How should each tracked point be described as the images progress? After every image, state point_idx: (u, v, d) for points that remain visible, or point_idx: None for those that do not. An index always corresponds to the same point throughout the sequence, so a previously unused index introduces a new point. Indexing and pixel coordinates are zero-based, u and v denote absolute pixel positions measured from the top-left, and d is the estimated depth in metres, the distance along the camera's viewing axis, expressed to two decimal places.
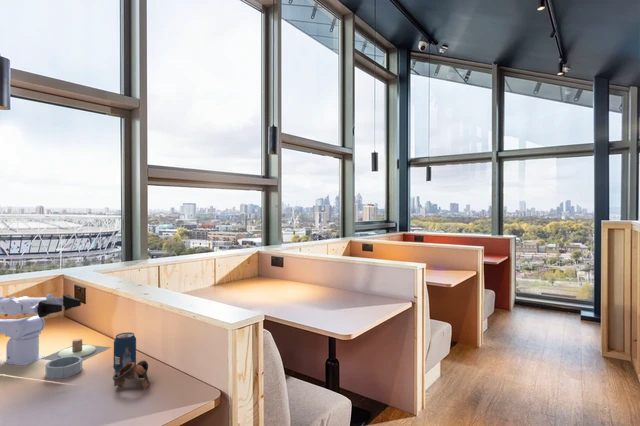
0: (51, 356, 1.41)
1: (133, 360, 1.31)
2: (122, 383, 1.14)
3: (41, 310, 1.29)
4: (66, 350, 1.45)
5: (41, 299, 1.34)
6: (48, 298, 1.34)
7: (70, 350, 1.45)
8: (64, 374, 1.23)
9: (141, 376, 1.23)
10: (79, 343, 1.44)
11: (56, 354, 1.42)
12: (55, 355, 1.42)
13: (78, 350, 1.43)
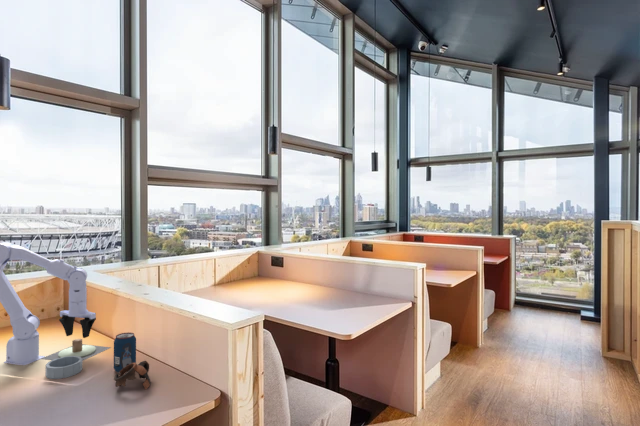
0: (51, 356, 1.41)
1: (133, 360, 1.31)
2: (123, 383, 1.14)
3: None
4: (66, 350, 1.44)
5: None
6: None
7: (70, 350, 1.45)
8: (64, 374, 1.23)
9: (142, 376, 1.23)
10: (79, 343, 1.44)
11: (56, 354, 1.42)
12: (55, 355, 1.42)
13: (78, 350, 1.43)
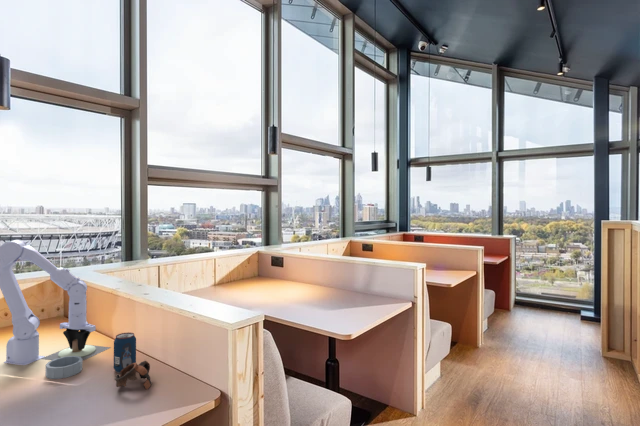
0: (51, 356, 1.41)
1: (133, 360, 1.31)
2: (124, 384, 1.14)
3: None
4: (66, 350, 1.44)
5: None
6: None
7: (70, 350, 1.45)
8: (64, 374, 1.23)
9: (143, 377, 1.23)
10: None
11: (56, 354, 1.42)
12: (55, 355, 1.42)
13: (78, 350, 1.43)
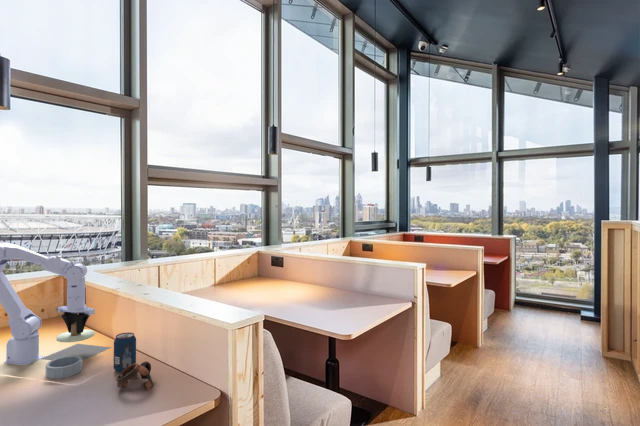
0: (51, 356, 1.41)
1: (133, 360, 1.31)
2: (126, 384, 1.14)
3: None
4: (64, 334, 1.42)
5: None
6: None
7: (68, 334, 1.42)
8: (64, 374, 1.23)
9: (144, 377, 1.23)
10: None
11: (56, 354, 1.42)
12: (55, 355, 1.42)
13: (77, 334, 1.41)
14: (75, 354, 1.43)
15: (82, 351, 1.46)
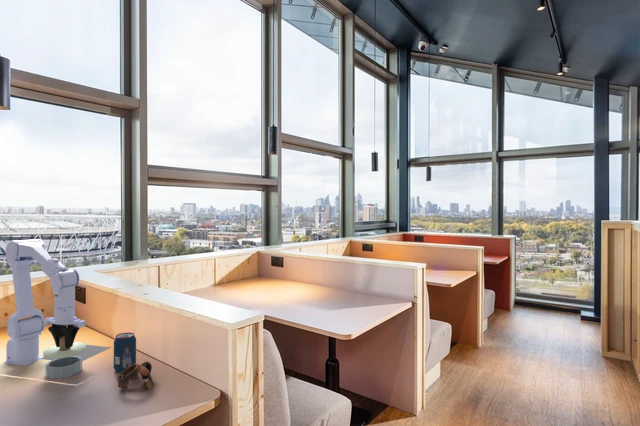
0: None
1: (133, 360, 1.31)
2: (126, 384, 1.14)
3: None
4: (52, 348, 1.28)
5: None
6: None
7: (57, 348, 1.28)
8: (64, 374, 1.23)
9: (145, 377, 1.22)
10: None
11: None
12: None
13: (66, 348, 1.27)
14: None
15: None
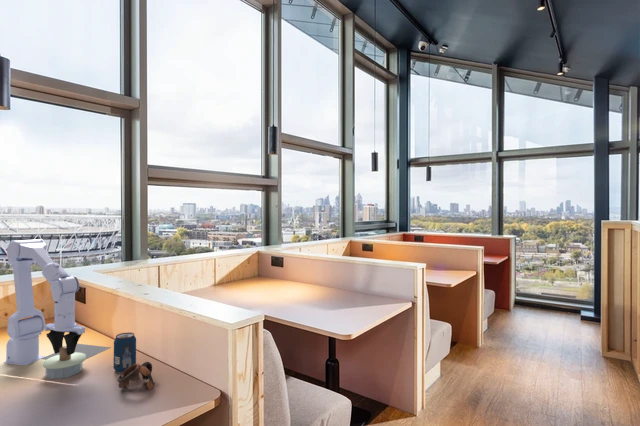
0: (51, 356, 1.41)
1: (133, 360, 1.31)
2: (127, 384, 1.14)
3: None
4: (52, 359, 1.28)
5: None
6: None
7: (57, 358, 1.28)
8: (64, 374, 1.23)
9: (145, 377, 1.22)
10: None
11: (56, 354, 1.42)
12: (55, 355, 1.42)
13: (66, 358, 1.27)
14: None
15: (82, 351, 1.46)
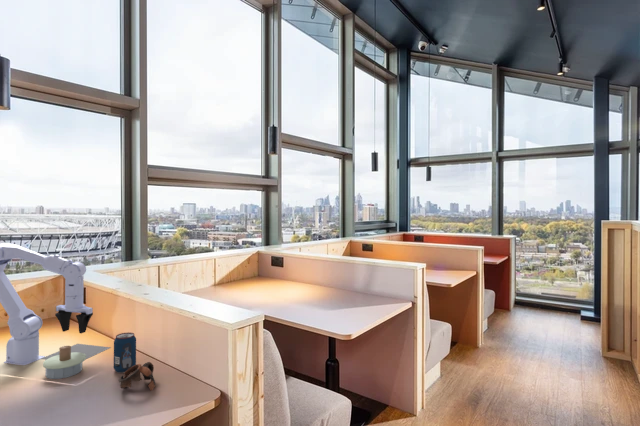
0: (51, 356, 1.41)
1: (133, 360, 1.31)
2: (129, 385, 1.13)
3: None
4: (52, 359, 1.28)
5: None
6: None
7: (57, 358, 1.28)
8: (64, 374, 1.23)
9: (147, 378, 1.22)
10: (67, 350, 1.27)
11: (56, 354, 1.42)
12: (55, 355, 1.42)
13: (66, 358, 1.27)
14: None
15: (82, 351, 1.46)
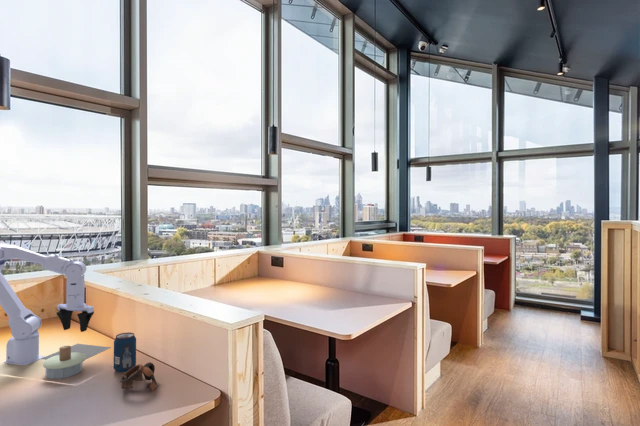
0: (51, 356, 1.41)
1: (133, 360, 1.31)
2: (130, 385, 1.13)
3: None
4: (52, 359, 1.28)
5: None
6: None
7: (57, 358, 1.28)
8: (64, 374, 1.23)
9: (148, 378, 1.22)
10: (67, 350, 1.27)
11: (56, 354, 1.42)
12: (55, 355, 1.42)
13: (66, 358, 1.27)
14: None
15: (82, 351, 1.46)
